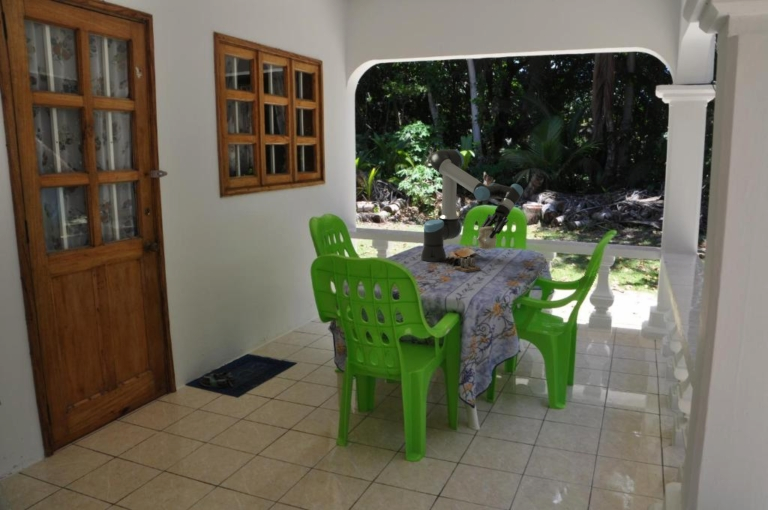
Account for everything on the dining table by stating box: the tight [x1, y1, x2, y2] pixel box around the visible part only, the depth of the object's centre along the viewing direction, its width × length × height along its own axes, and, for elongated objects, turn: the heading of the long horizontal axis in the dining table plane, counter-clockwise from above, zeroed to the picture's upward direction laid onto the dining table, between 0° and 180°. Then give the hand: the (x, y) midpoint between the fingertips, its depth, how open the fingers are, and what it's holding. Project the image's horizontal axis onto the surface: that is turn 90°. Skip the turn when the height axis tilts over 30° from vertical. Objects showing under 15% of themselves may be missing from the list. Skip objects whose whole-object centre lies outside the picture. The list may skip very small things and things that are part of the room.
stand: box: [454, 256, 481, 274], centre depth 347 cm, size 9×11×6 cm
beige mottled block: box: [478, 226, 497, 250], centre depth 338 cm, size 5×8×11 cm, turn 128°
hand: (482, 241), depth 336 cm, fingers closed on beige mottled block, 5 cm apart
